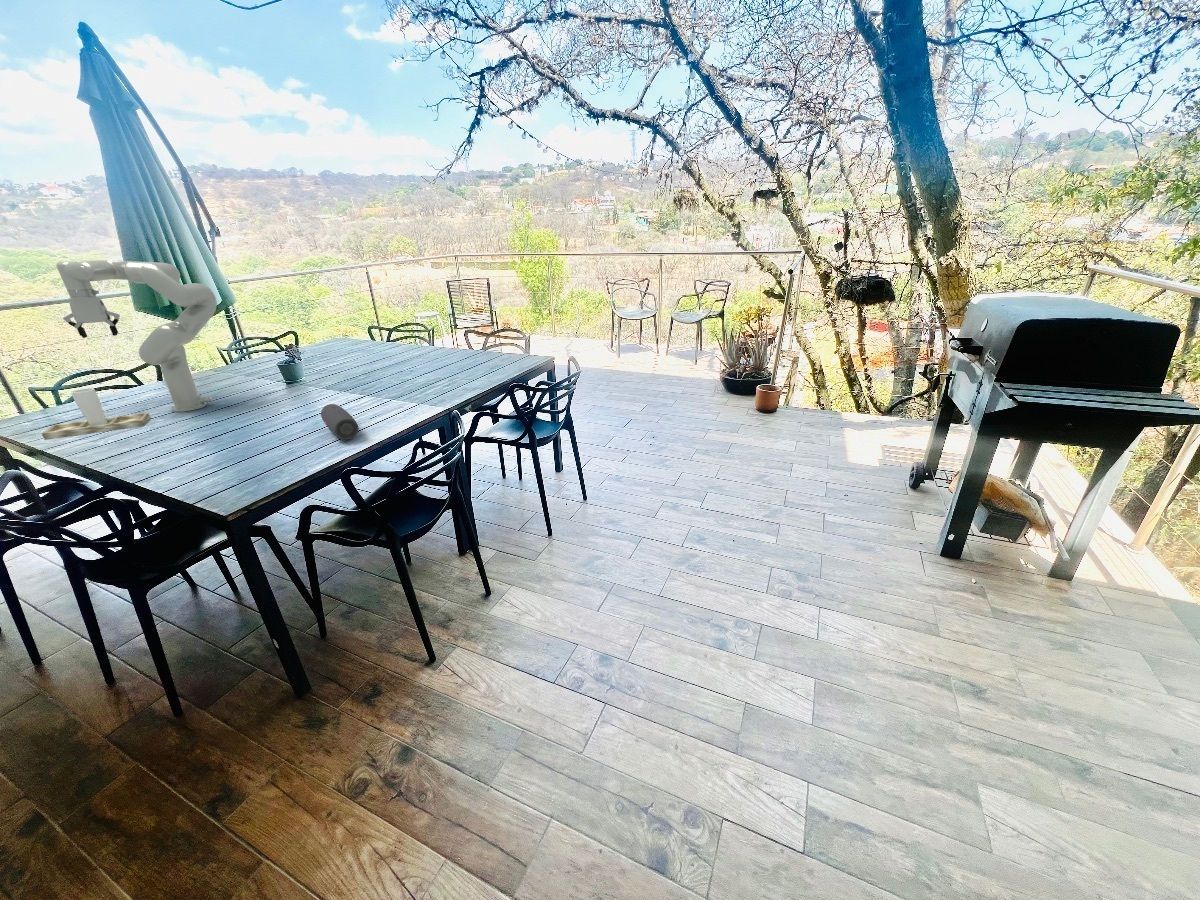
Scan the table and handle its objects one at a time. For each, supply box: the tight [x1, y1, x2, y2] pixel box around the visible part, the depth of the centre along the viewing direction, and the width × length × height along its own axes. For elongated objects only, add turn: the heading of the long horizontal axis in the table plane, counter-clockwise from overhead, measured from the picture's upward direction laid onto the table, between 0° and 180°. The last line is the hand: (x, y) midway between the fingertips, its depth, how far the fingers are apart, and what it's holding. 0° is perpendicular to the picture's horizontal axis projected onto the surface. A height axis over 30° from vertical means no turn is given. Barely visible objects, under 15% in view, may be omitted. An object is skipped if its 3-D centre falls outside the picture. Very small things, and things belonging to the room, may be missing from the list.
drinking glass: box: [71, 387, 108, 426], centre depth 193 cm, size 7×7×15 cm
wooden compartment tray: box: [41, 412, 151, 440], centre depth 195 cm, size 30×11×2 cm, turn 119°
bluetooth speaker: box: [320, 403, 360, 440], centre depth 188 cm, size 23×9×10 cm, turn 40°
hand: (100, 336), depth 202 cm, fingers open, 9 cm apart
